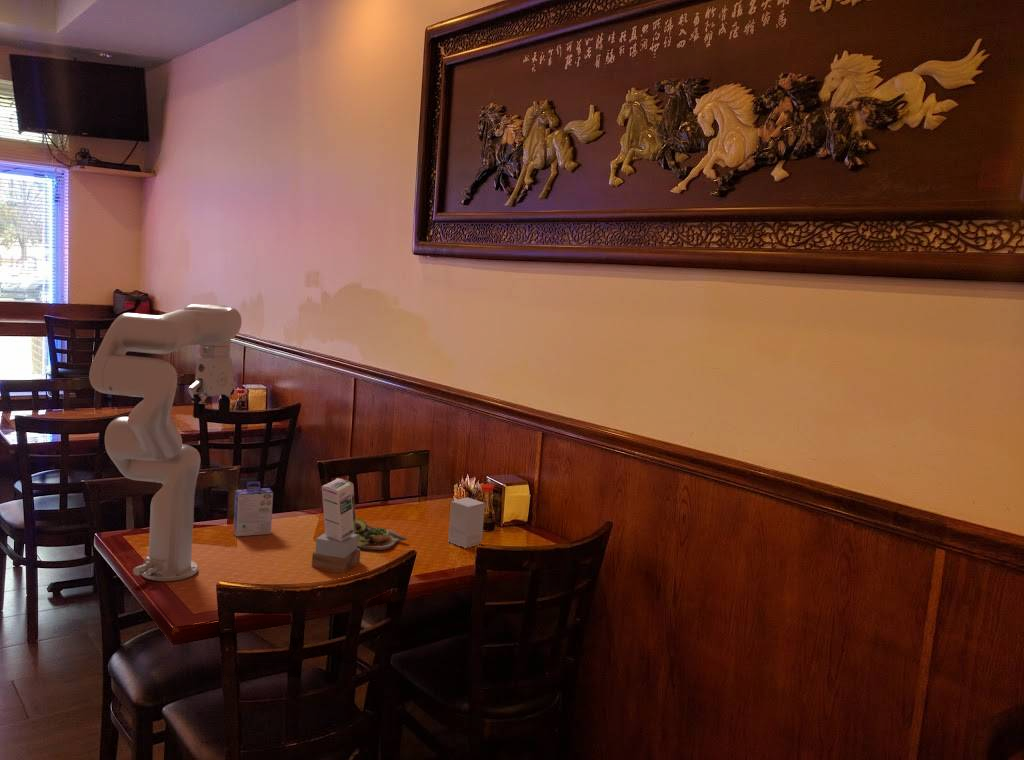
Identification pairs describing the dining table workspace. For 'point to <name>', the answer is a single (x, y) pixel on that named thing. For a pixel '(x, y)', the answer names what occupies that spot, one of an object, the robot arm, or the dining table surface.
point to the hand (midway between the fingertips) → (211, 415)
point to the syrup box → (339, 509)
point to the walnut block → (336, 562)
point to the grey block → (336, 546)
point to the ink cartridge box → (253, 510)
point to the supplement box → (466, 522)
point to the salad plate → (375, 536)
